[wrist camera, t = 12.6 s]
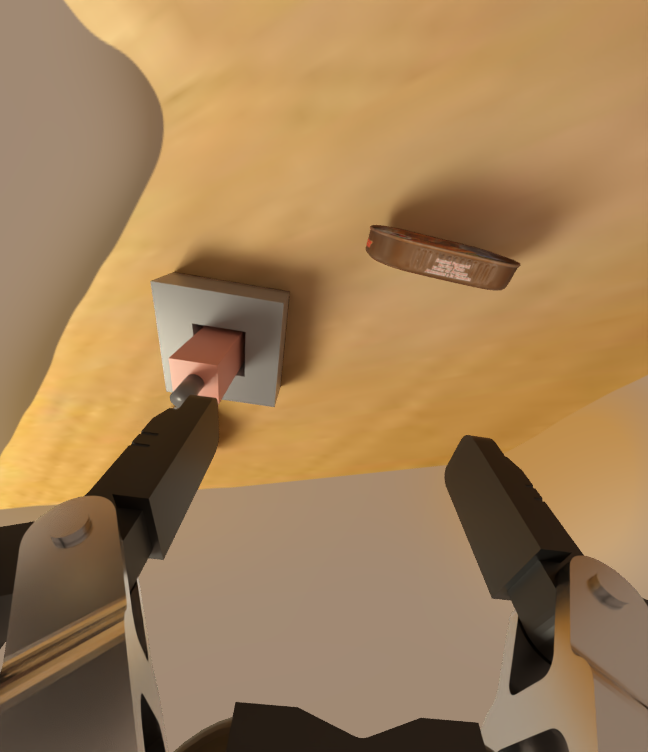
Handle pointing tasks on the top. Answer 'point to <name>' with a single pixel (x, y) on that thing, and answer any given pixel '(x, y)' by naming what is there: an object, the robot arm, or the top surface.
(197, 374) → the plug
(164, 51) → the top surface
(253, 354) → the socket block
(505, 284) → the tin
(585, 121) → the top surface
